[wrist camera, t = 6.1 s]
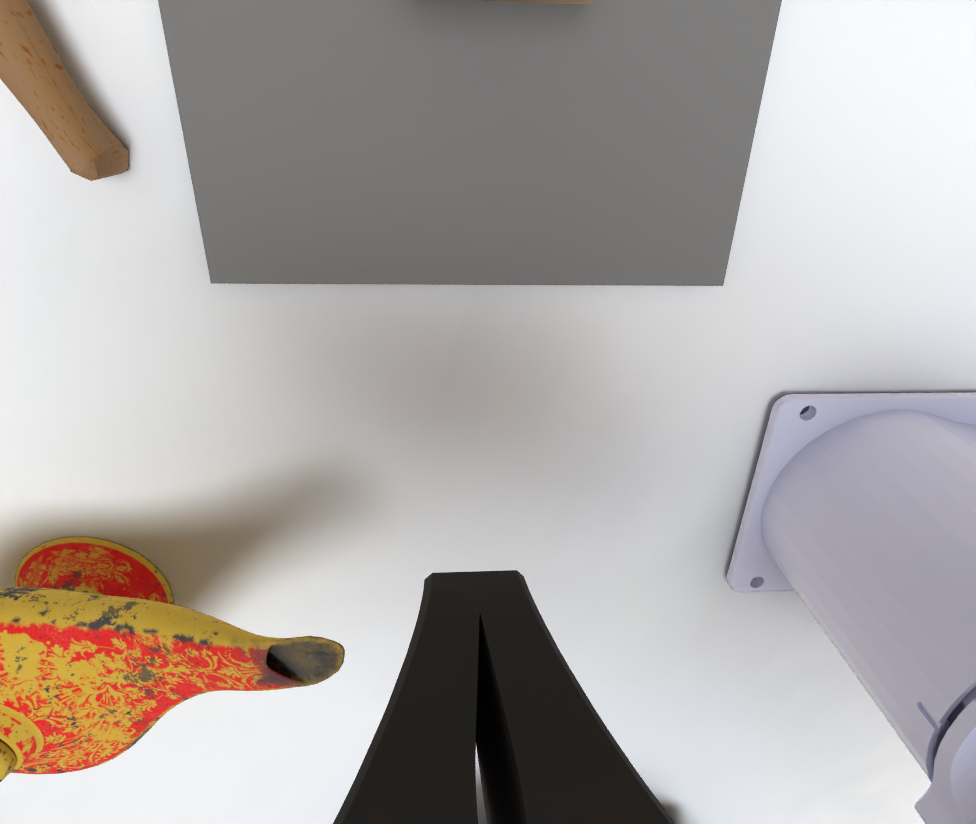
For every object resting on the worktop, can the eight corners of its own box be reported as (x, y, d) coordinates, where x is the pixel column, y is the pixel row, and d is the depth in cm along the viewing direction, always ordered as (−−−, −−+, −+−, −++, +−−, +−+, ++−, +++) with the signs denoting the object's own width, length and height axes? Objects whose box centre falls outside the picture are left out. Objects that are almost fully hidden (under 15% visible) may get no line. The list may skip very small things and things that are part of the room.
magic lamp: (416, 557, 22) (399, 939, 12) (-4, 717, 24) (-307, 1148, 14) (317, 399, 19) (183, 740, 9) (-156, 599, 21) (-679, 1049, 11)
